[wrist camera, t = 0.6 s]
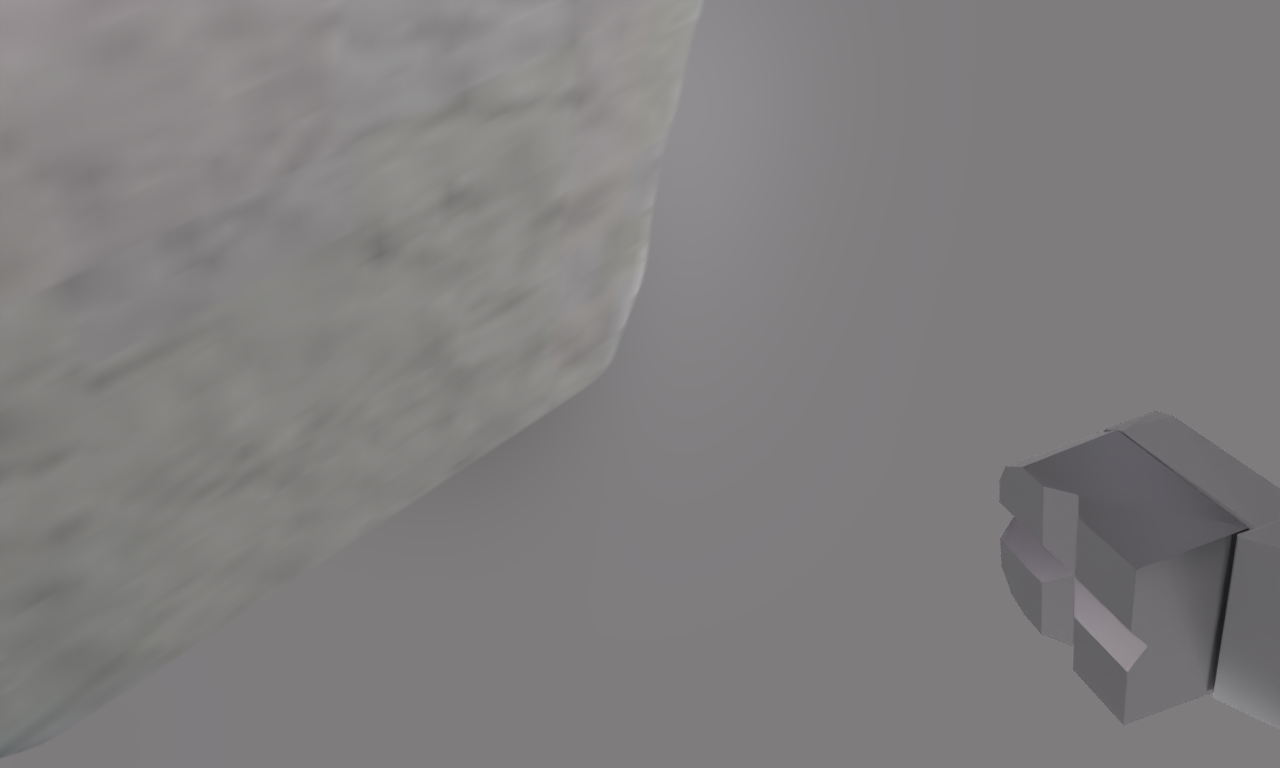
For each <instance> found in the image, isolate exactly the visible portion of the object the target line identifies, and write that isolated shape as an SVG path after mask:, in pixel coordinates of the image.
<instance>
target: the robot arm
mask: <svg viewBox="0 0 1280 768" xmlns="http://www.w3.org/2000/svg"><path fill="white" fill-rule="evenodd" d="M999 495H1000V496H999V499H1000V500H999V502H1000V503H1001V504H1002V505H1003V506H1004V507H1005V508H1006V509H1007V510H1008V511H1009V512H1010V513H1011V514H1012V515H1013V516H1014V517H1013V519H1012V520H1011V522H1010V524H1009V525H1008V527H1007V528H1006V530H1005V532H1004V533H1003V535H1002V537H1001V538H1000V546H1001V562H1002V569H1003V571H1004V574H1005V577H1006V580H1007V582H1008V585H1009V588H1010V591H1011V594H1012V595H1013V597H1014V598H1015V600H1016V602H1017V603H1018V605H1019V607H1020V608H1021V610H1022V612H1023V613H1024V615H1025V616H1026V617H1027V618H1028V619H1029V620H1030V621H1031V623H1032V624H1033V625H1034V626H1035V627H1036V628H1037V630H1038V631H1039V632H1040V633H1041V634H1042V635H1045V636H1048V637H1050V638H1053V639H1056V640H1058V641H1061V642H1064V643H1067V644H1069V645H1072V646H1073V670H1074V671H1075V672H1076V673H1077V674H1078V676H1079V677H1080V678H1081V679H1082V680H1083V681H1084V682H1085V683H1086V684H1087V685H1088V687H1089V688H1090V689H1091V690H1092V691H1093V692H1094V693H1095V694H1096V695H1097V696H1098V698H1099V699H1100V700H1101V701H1102V702H1103V703H1104V704H1105V705H1106V706H1107V707H1108V709H1109V710H1110V711H1111V712H1112V713H1113V714H1114V715H1115V716H1116V717H1117V719H1118V720H1119V721H1120V722H1121V723H1122V724H1123V725H1125V724H1128V723H1131V722H1134V721H1136V720H1139V719H1142V718H1145V717H1147V716H1150V715H1153V714H1155V713H1158V712H1161V711H1163V710H1166V709H1169V708H1172V707H1174V706H1177V705H1179V704H1182V703H1185V702H1188V701H1191V700H1193V699H1196V698H1199V697H1201V696H1204V695H1207V694H1210V693H1212V692H1214V693H1213V698H1214V699H1217V700H1219V701H1221V702H1223V703H1225V704H1228V705H1229V706H1232V707H1234V708H1236V709H1238V710H1240V711H1242V712H1244V713H1247V714H1248V715H1251V716H1253V717H1255V718H1257V719H1259V720H1261V721H1263V722H1266V723H1268V724H1270V725H1272V726H1274V727H1276V728H1278V729H1280V488H1278V487H1277V486H1276V485H1274V484H1273V483H1271V482H1270V481H1268V480H1267V479H1265V478H1264V477H1262V476H1261V475H1259V474H1258V473H1256V472H1255V471H1253V470H1252V469H1250V468H1249V467H1248V466H1246V465H1245V464H1243V463H1241V462H1240V461H1239V460H1237V459H1236V458H1234V457H1233V456H1231V455H1230V454H1228V453H1227V452H1225V451H1224V450H1222V449H1221V448H1220V447H1218V446H1217V445H1215V444H1214V443H1212V442H1211V441H1209V440H1208V439H1206V438H1205V437H1203V436H1202V435H1200V434H1199V433H1197V432H1196V431H1195V430H1193V429H1192V428H1190V427H1189V426H1187V425H1186V424H1184V423H1183V422H1181V421H1180V420H1178V419H1177V418H1175V417H1174V416H1172V415H1170V414H1166V413H1162V412H1158V411H1153V412H1150V413H1147V414H1145V415H1142V416H1140V417H1137V418H1134V419H1131V420H1129V421H1126V422H1124V423H1120V424H1118V425H1115V426H1113V427H1110V428H1107V429H1105V430H1104V431H1103V432H1099V433H1095V434H1092V435H1089V436H1087V437H1084V438H1081V439H1079V440H1076V441H1073V442H1070V443H1068V444H1065V445H1062V446H1059V447H1057V448H1054V449H1052V450H1049V451H1046V452H1044V453H1040V454H1038V455H1035V456H1032V457H1030V458H1027V459H1024V460H1022V461H1019V462H1016V463H1013V464H1011V465H1008V466H1006V467H1005V469H1004V471H1003V473H1002V476H1001V478H1000V494H999Z"/></svg>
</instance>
